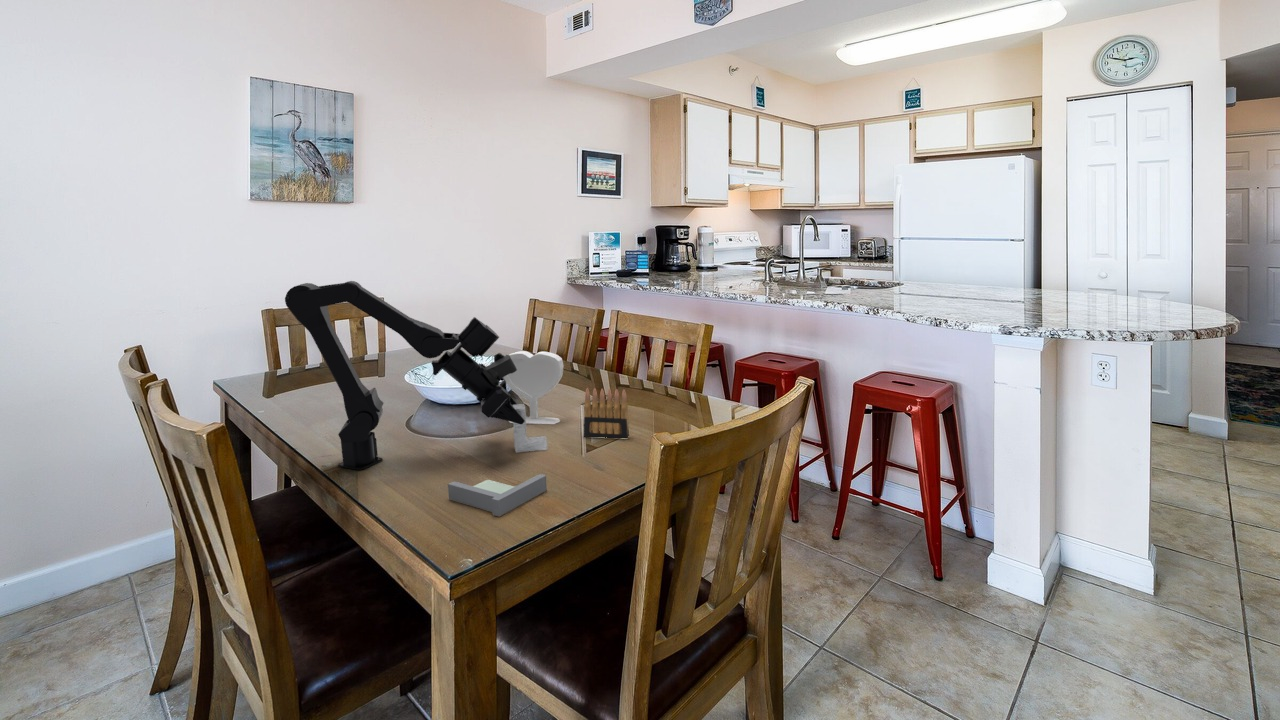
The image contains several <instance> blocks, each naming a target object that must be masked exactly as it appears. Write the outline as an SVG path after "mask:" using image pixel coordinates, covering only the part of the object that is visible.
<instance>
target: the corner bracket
mask: <svg viewBox="0 0 1280 720" xmlns="http://www.w3.org/2000/svg"><path fill="white" fill-rule="evenodd" d="M473 486H474V485H469V484H465V483H462V482H458V481H451V482H449V483H447V493H448V500H450V501H454V502H457V503H460V504H464V505H467V506H471V507H474V508H477V509H481V510H484V511H487V512H490V513H492V515H493V516H495V517H501V516H503V515H505V514H506V513H507V514H508V512H510V511H512V510H515V508H517V507H519V506H522V505H523V504H525V503H526V502H529V501H530V500H532V499H534V498H536V497H537V496H539V495H541V494H544V492H546V491H548V490H547V489H548V488H547V486H548V485H547V474H546V475H545V474H543V473H539V474H537V475H535V476H534V477H531V478H529V479H527V480H525V481H524V482H521V483H520V484H518V485H515V486H514V487H513V488H512V489H510V490H508V491H506V492H504V493H502V494H499V493H495V492H492V491H488V490H484V489H481V488H477V487H473Z"/></svg>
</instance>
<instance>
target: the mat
mask: <svg viewBox="0 0 1280 720" xmlns="http://www.w3.org/2000/svg"><path fill="white" fill-rule="evenodd" d="M472 486H473V487H477V488H481V489H484V490H488V491H492V492H495V493H499V494H502V493H504V492H506V491H508V490H510V489H512V488H513V487H515V486H513V485H510V484H505V483H502V482H498V481H494V480H490V479H485V480H483V481H481V482H480V483H477V484H474V485H472Z"/></svg>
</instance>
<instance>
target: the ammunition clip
mask: <svg viewBox="0 0 1280 720" xmlns="http://www.w3.org/2000/svg"><path fill="white" fill-rule="evenodd" d="M584 393H585V395H584V406H583V407H584V412H583V413H584V418H583V438H584V437H605V438H606V437H607V438H628V436H629V437H630V434H629V433H630V431H629V414H628V413H629V411H628V399H627V393H626V390H625V389H622V393H621V401H620V394H619V393H620V392H619V390H618V388H616V389H615V391H614V399H613V395H612V391H611V389H610V388H608V390H607V396H606V395H605V391H604V388H601V389H600V393H599V400H598V393H597V389H596V388H593V391H592V396H591V394H590V393H591V392H590V390H589V388H588V387H587V388H586V389H585V392H584ZM591 398H592V399H591ZM591 400H592V401H591ZM598 401H599V402H598ZM620 402H621V404H620ZM591 403H592V404H591ZM628 439H629V438H628Z"/></svg>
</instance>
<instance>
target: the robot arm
mask: <svg viewBox="0 0 1280 720" xmlns="http://www.w3.org/2000/svg"><path fill="white" fill-rule="evenodd" d="M284 303H285V305H286V306H285V307H287V309H288V310H289V311H290V313H291V314H292V315H293V317H294V318H295V319H296V320H297V322H298V323H299V324H301V325H302V326H303V327H304V328H305V329H306V330H307V331H308V333H309V334H310V336H311V337H312V339H313V342H314V343H315V346H316V347H317V349H318V350H319V352H320V354H321V356H322V358H323V360H324V362H325V364H326V367H328V370H329V371H330V373H331V376H332V378H333V379H334V381H335V383H336V384H337V387H338V389H339V390H340V392H341V394H342V398H343V399H342V400H343V405H344V410H345V413H346V416H347V417H346V418H347V420H346V421H345V423H343V426H342V427H341V429H340V430H339V432H338V435H337V436H338V437H339V439H340V445H341V447H340V448H341V454H342V455H341V456H342V461H341V462H339V463H337V467H339V468H346V469H350V470H351V469H352V470H357V471H362V470H364V469H367V468H369V467H371V466H373V465H375V464H377V463H380V462H382V461H384V459H383V457H380V456H379V457H378V455H379V454H378V446H377V445H378V444H377V438H376V435H375V434H376V433H375V431H373V430H375V429H376V428H377V427H378V424H379V423H380V420H381V418H382V416H383V413H384V412H383V405H384V403H385V402H383V401H382V400H381V398H380V397H379V395H378V391H377V389H376V387H373V388H371V389H368V388H367V386H365V385H364V384H363V382H362V381H361V379H360V377H359V375H358V373H357V371H356V370H355V367H354V365H353V363H352V362H351V359H350V358H349V355H348V354H347V352H346V350H345V347H344V346H343V344H342V342H341V340H340V338H339V337H338V334H337V333H336V330H335V329H334V327H333V325H332V322H331V317H330V311H329V306H332V305H337V304H343V303H344V304H345V303H349V304H351V305H352V306H354V307H355V308H357V309H358V310H360V311H362V312H364V314H366V315H368V316H370V317H371V318H373V319H375V320H376V321H378V322H380V323H381V324H383V325H384V326H386V327H388V328H389V329H391V330H392V331H394V333H397V334H399V335H400V336H401V337H402V338H403V339H404V340H405V341H406V343H408V345H409V346H411V348H413V349H414V350H415V351H416V352H417V353H419V354H420V355H421V356H422V357H424V358H426V359H434V358H435V359H436V358H437V357H440V358H439V359H437V360H431V366H432V375H433V376H436V375H438V374H439V372H440V371H442V370H443V371H444V372H446V374H447V375H449V376H450V377H451V378H453V380H455V381H457V382H458V383H459V384H460V385H461V388H462V389H463V390H464V391H466V390H467V391H468V392H470V393H471V394H472V395H474V396H475V397H476V400H477V401H478V402H479V403H480V409H481V413H482V414H483V415H485V416H486V417H487V418H491V419H492V418H494V419H498V420H503V421H507V422H509V421H510V422H514V423H518V424H523V423H524V422H525V420H524V419H523V418H522V416H521V415H520V414H519V413H518V412H517V410H516V409H515V408H514V407H513V405H516V404H518V403H517V402H516V401H515V399H514V398H513V397H512V396H511V394H510V392H508V390H507V384H506V381H505V380H504V376H506V375H508V374H510V373H511V374H512V373H514V372H515V371H517V369H516V366H515V364H514V362H513V361H512V359H511V357H510V355H509V354H505V355H504V354H503V353H501V352H498V353H496V354H495V355H493V362H491V363H490V364H488V365H487V366H486V365H485V364H484V363H478V362H477V361H476V360H475V359H473V358H472V357H474V358H475V357H479V356H480V357H483V356H484V355H485V353H486V352H488V350H489V349H490V348H491V347H492V346H493V345H494V344H495V343H496V342H497V341H498V340H499V339H500V336H499V335H498V334H497V333H496V332H495V331H494V330H493V329H492V328H491V327H490V326H489V325H488V324H485V323H484V322H483V321H481V320H480V319H478V318H477V317H475V316H474V317H473V318H472V319H470V321H469V323H468V324H467V326H465V327H464V329H462V331H461V332H460V333H454V332H443V331H442V330H441V329H439V328H437V327H435V326H433V325H431V324H428V323H426V322H423V321H420V320H418V319H415V318H412V317H410V316H408V315H407V314H405V313H403V312H402V311H401V310H400V309H398V308H396V307H394V306H393V305H391V304H389V303H388V302H386V301H385V300H384V299H382V298H380V297H379V296H377V295H376V294H374V293H372V292H371V291H369V290H368V289H366V288H365V287H363V286H362V285H361V284H360V283H359V282H357V281H354V280H348V281H346V282H342V283H333V284H332V283H331V284H325V285H320V286H319V285H316V284H314V283H310V282H305V283H301V284H298V285H295V286H293V287H291V288H290V289H289V290H288V291H287V292H286V295H285V297H284ZM462 348H463V349H464V351H463V349H462ZM450 350H452V351H451V352H450ZM465 351H466V352H467V353H466V352H465ZM500 381H501V383H500ZM510 422H509V423H510Z"/></svg>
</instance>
